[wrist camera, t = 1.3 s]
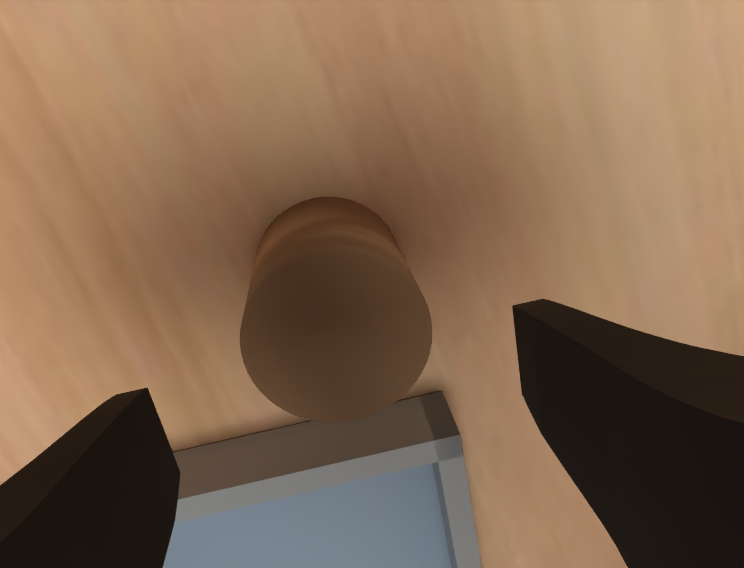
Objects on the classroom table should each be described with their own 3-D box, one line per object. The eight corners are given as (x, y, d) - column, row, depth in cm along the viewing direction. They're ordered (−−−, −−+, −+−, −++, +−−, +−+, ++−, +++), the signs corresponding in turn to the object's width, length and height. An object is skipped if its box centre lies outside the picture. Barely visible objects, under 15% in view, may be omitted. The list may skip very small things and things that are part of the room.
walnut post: (385, 183, 18) (415, 229, 13) (410, 316, 19) (444, 399, 15) (238, 214, 17) (216, 273, 13) (275, 345, 19) (267, 439, 14)
